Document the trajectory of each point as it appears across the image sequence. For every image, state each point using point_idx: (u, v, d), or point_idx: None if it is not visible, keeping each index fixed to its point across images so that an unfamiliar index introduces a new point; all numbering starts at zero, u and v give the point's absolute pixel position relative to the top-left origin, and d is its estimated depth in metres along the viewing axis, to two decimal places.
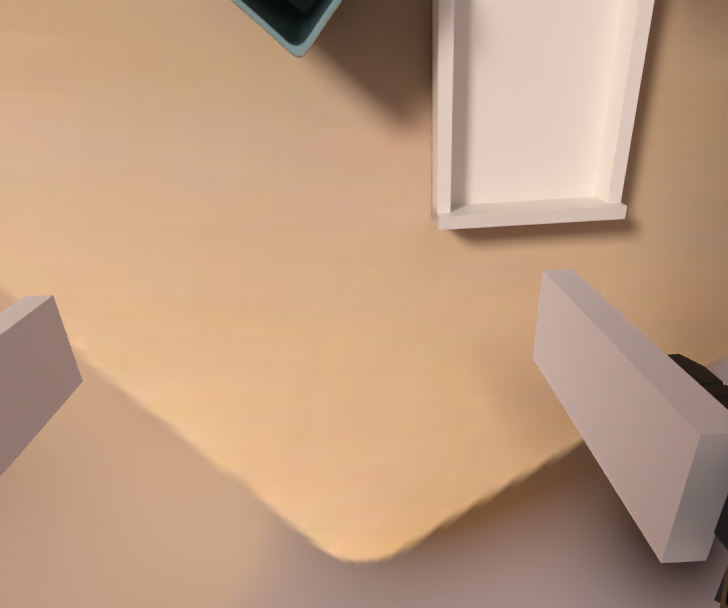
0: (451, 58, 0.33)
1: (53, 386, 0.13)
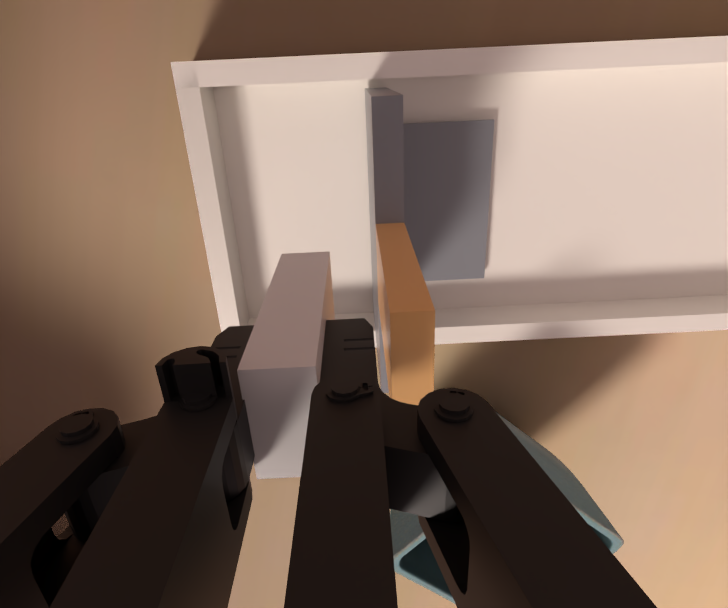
0: (611, 321, 0.26)
1: None
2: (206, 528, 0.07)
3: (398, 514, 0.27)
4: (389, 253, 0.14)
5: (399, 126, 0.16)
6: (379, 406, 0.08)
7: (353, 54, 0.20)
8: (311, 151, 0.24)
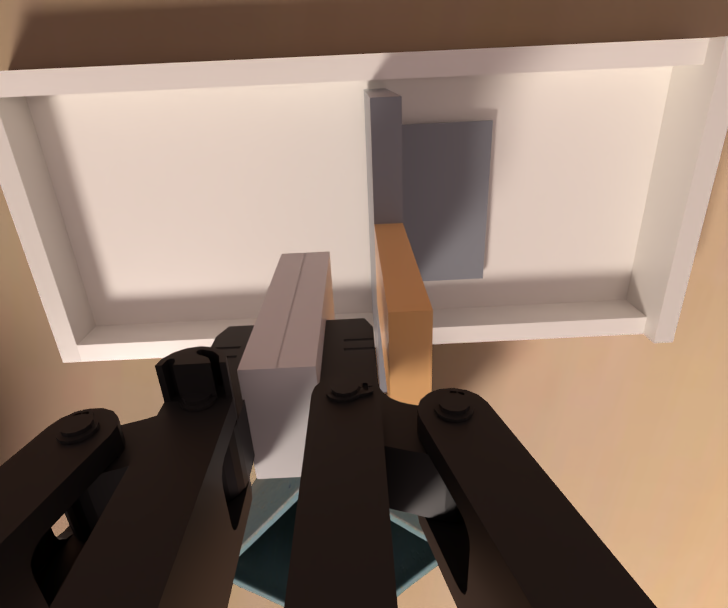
0: (446, 329, 0.26)
1: None
2: (206, 528, 0.07)
3: None
4: (388, 253, 0.15)
5: (398, 127, 0.16)
6: (379, 406, 0.08)
7: (144, 65, 0.20)
8: (134, 160, 0.24)
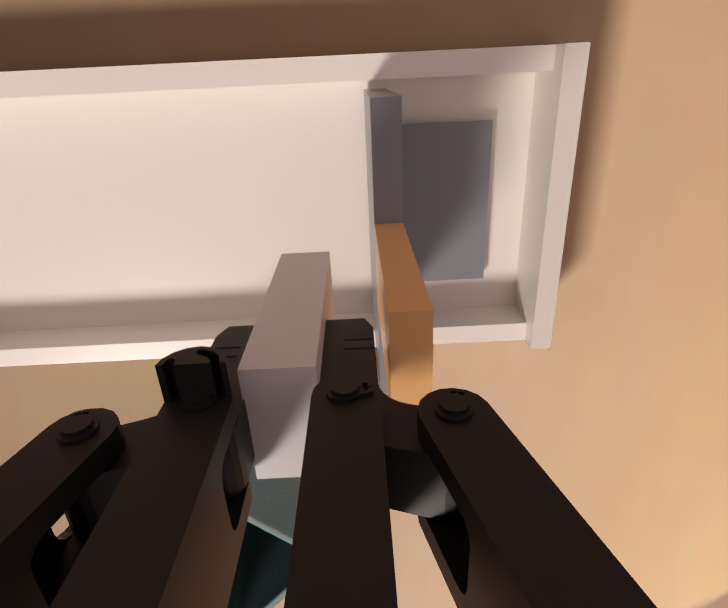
0: None
1: None
2: (206, 528, 0.07)
3: None
4: (388, 253, 0.15)
5: (398, 127, 0.16)
6: (379, 406, 0.08)
7: None
8: (3, 167, 0.24)
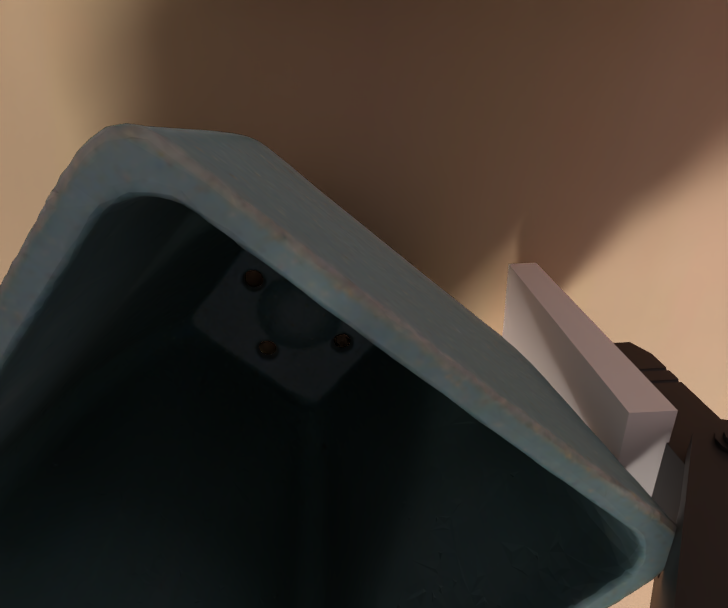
0: None
1: None
2: None
3: None
4: None
5: None
6: None
7: None
8: None
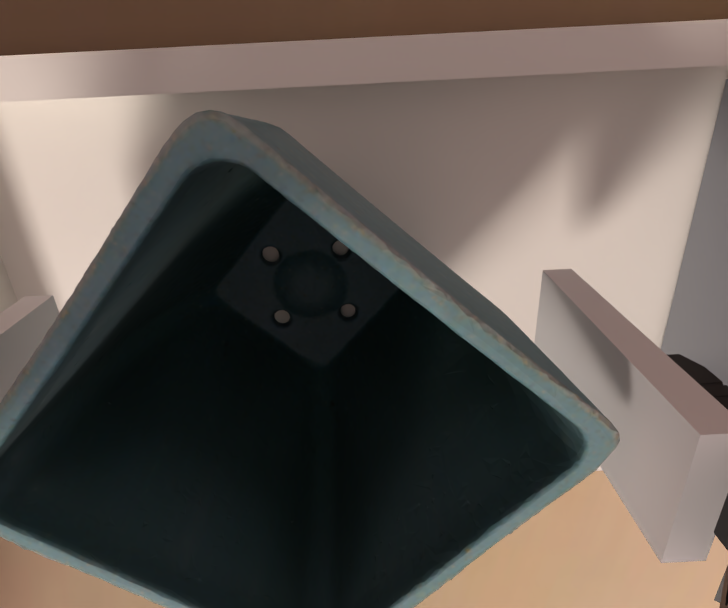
0: None
1: None
2: None
3: None
4: None
5: None
6: None
7: (132, 51, 0.12)
8: (121, 203, 0.15)
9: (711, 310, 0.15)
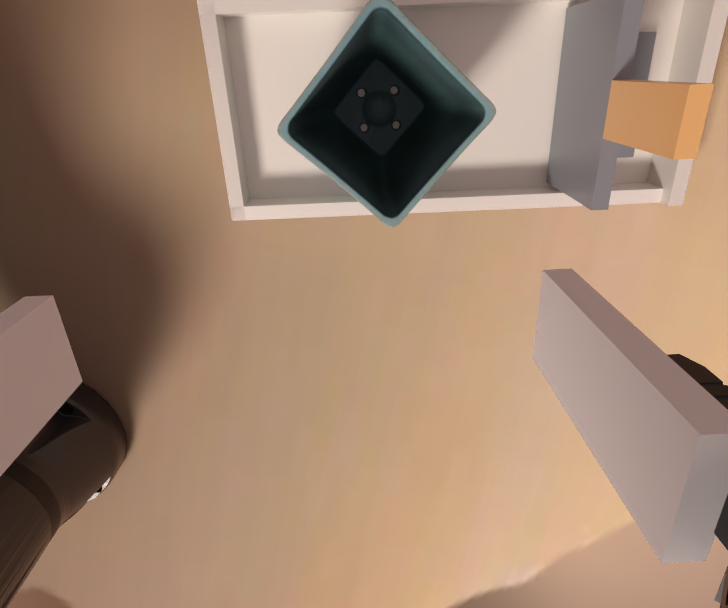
0: (514, 196, 0.35)
1: (53, 386, 0.13)
2: None
3: None
4: (646, 81, 0.24)
5: (639, 11, 0.25)
6: None
7: None
8: (294, 67, 0.34)
9: (563, 115, 0.33)
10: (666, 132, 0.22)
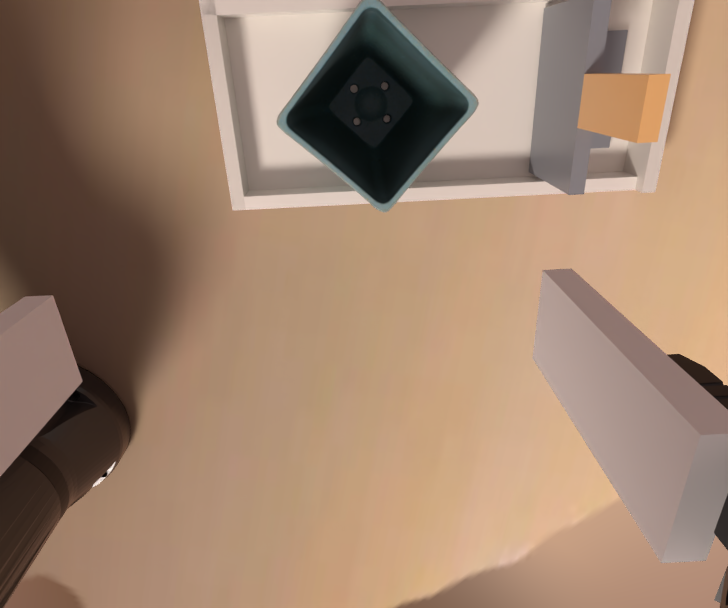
0: (498, 185, 0.38)
1: (53, 386, 0.13)
2: None
3: None
4: None
5: (608, 10, 0.28)
6: None
7: None
8: (290, 64, 0.36)
9: (543, 108, 0.36)
10: (630, 118, 0.24)
